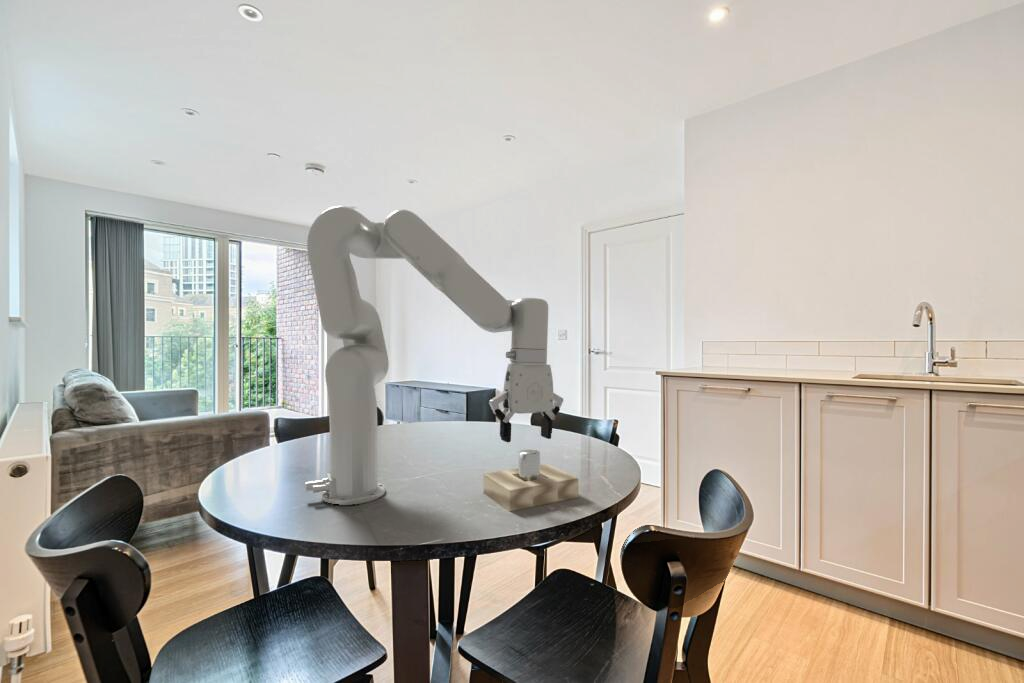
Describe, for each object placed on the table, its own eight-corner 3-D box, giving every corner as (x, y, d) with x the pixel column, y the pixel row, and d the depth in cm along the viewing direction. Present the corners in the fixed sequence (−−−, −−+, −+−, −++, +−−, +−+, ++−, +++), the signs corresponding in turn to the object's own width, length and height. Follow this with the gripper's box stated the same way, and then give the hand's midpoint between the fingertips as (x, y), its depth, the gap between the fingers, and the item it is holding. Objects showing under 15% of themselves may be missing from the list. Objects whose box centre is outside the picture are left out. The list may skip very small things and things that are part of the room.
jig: (509, 511, 85) (509, 490, 85) (483, 492, 96) (483, 473, 96) (578, 497, 93) (578, 477, 93) (547, 481, 103) (547, 463, 103)
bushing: (525, 500, 91) (525, 455, 91) (515, 493, 95) (515, 451, 95) (543, 496, 93) (543, 453, 93) (533, 490, 97) (532, 448, 97)
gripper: (499, 358, 87) (497, 446, 87) (573, 358, 95) (570, 439, 95) (483, 356, 93) (481, 438, 93) (553, 357, 101) (551, 432, 102)
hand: (526, 439), depth 94 cm, fingers open, 9 cm apart
